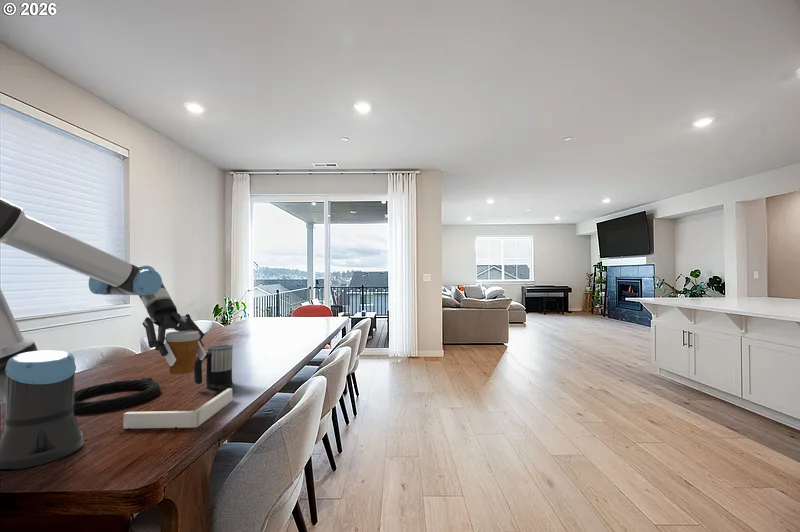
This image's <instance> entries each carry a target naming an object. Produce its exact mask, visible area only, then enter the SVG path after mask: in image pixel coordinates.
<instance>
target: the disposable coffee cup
mask: <svg viewBox="0 0 800 532" xmlns="http://www.w3.org/2000/svg"><path fill="white" fill-rule="evenodd" d="M199 338H200V335H199V332H198V331H176V330H175V331H170V332H167V333H165V340H164V342H165V343H168V344H169V346H170V348H171V350H172V352H173V354H174V356H175V358H176V361H175V363H174V364H173V366H169V365H168V368H169V374H170V375H185V374H191V373H194V365H195V359H196V357H197V346H198V340H199Z"/></svg>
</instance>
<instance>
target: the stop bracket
mask: <svg viewBox="0 0 800 532" xmlns="http://www.w3.org/2000/svg"><path fill="white" fill-rule="evenodd" d="M231 402H233V390H232V388H228V389H226V390H225V391H224V390H222V392H220V393H219V394H216V396H215V397H213V398H211V399H210V400H208V401H207V402H205V403H204V404H203V405H201V406H200V407H198V408H196V409H195V410H170V411H168V410H167V411H166V410H163V411H162V410H161V411H158V410H156V411H127V412H124V413H123V426H122V429H125V430H126V429H129V428H130V429H173V428H174V429H176V428H175V427H177V429H179V428H181V429H182V428H183V429H184V428H187V429H188V428H191V429H192V428H198V427H199V426H200V425H202V424H204V422H206V421H207V420H208V419H210V418H211V417H213V416H214V415H215V414H216V413H218V412H219V411H221V410H222V409H223V408H224V407H225V406H227V405H229V404H230V403H231Z"/></svg>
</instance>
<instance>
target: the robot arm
mask: <svg viewBox="0 0 800 532" xmlns="http://www.w3.org/2000/svg"><path fill="white" fill-rule="evenodd" d="M0 243H1V244H4V245H7V246H9V247H12V248H15V249H18V250H20V251H23V252H25V253H28V254H30V255H33V256H35V257H38V258H40V259H43V260H45V261H47V262H51V263H53V264H55V265H58V266H61V267H63V268H66V269H68V270H71V271H74V272H75V273H78V274H81V275H84V276H86V277H89V278H88V288H89V291H90V292H91V293H92V294H94V295H103V296H106V295H107V296H108V295H110V296H138V297H139V298H140V301H141V302H142V304H143V306H144V308H145V309H146V312H147V314H148V316H149V317H145V318H144V320H143V322H142V325H143V327H144V329H145V334H146V339H147V343H148V347H149V349H153V348H154V349H155V351H159V354H160V355H161V356H162V357H164V358H165V360H166V362H167V364H168V367H169V366H173V364H174V363H175V361H176V358H175V356H174V354H173V352H172V350H171V348H170V346H169V344H168V343H166V342H165V337H166V331H167V330H169V329H170V330H171V329H174V330H175V332H176V331H198V332H199V335H200V338H199V340H198V346H197V353H196V356H198V357H199V359H200V360H203V358H204V357H205V356H206V352H207V351H206V350H205V349H204V347H205V345H204V343H203V342H202V339H203V338H204V337H205V333H204V332H203V331H202V330H201V329H200V328H199V326H198V325H197V324H196V323H195V322H194V321H193V319H192V317H191V315H190V314H188V313H186V314H185V315H181V314H180V313H179V312H178V308H177V306H176V304H175V303H174V301H173V298H172V297H171V295H170V293H169V292H168V290H167V289H166V286H165V284H164V282H163V279H162V276H161V275H160V273H159V272H157V270H155V268H154V267H153V266H150V265H142V266H136V265H134V264H132V263H130V262H127V261H126V260H123V259H121V258H118V257H117V256H115V255H112V254H110V253H108V252H106V251H104V250H102V249H100V248H97V247H95V246H93V245H91V244H89V243H87V242H84V241H83V240H80V239H78V238H76V237H74V236H71V235H70V234H67V233H65V232H64V231H61V230H59V229H58V228H54V227H52V226H50V225H48V224H45V223H44V222H41V221H39V220H37V219H35V218H33V217H30V216H28V215H26V214H25V211H24V209H23V208H22V207H20V206H19V205H16V204H14V203H12V202H10V201H7V200H6V199H3V198H1V197H0ZM155 325H156V326H158V329H157V335H156V330H155ZM203 361H204V360H203ZM76 370H77V365H76V361H75V357H74V354H72V353H71V352H68V351H65V350H57V349H56V350H52V349H45V350H44V349H43V350H39V349H38V348H37V345H36V343H35V341H34V339H32V338H27V337H24V336H23V334H22V333H21V330H20V327H19V326H18V324H17V322H16V319H15V317H14V315H13V313H12V310H11V308H10V306H9V303H8V302H7V300H6V297H5V295H4V292H3V290H2V289H1V287H0V403H1V404H5V412H4V413H5V417H4V420H5V423H4V430H3V432H2V434H1V436H0V469H14V470H21V469H27V468H31V467H32V468H33V467H37V466H41V465H43V464H47V463H51V462H53V461H56V460H59V459H62V458H64V457H67V456H69V455H71V454H73V453H75V452H76V451H78V450H79V449H81V448H82V447H83V446H84V434H83V432H82V431H81V430H80V426H79V424H78V421H77V419H76V416H75V415H76V414H74V397H75V391H76V390H75V389H76Z"/></svg>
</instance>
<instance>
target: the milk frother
mask: <svg viewBox="0 0 800 532" xmlns="http://www.w3.org/2000/svg"><path fill="white" fill-rule="evenodd" d="M233 347H234V345H231V344H221V345H220V344H219V345H212V346H208V347H206V350H207V351H205V352H206V356H205V357H204V358H203V360H200V359H199V357H198V355H196V359H195V365H194V371H193V374H194V383H195V384H196V385H200V384H202V383H203V369H202V367H203V364H202V362H203V361H204V360H205V359H206V374H205V375H206V376H205V377H206V378H205V384H206V385H205V387H206V389H212V390H216V389H217V390H222V391H225V390H226V389H228V388H232V391H234V389H235V387H234V386H232V385H234V382H233Z"/></svg>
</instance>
